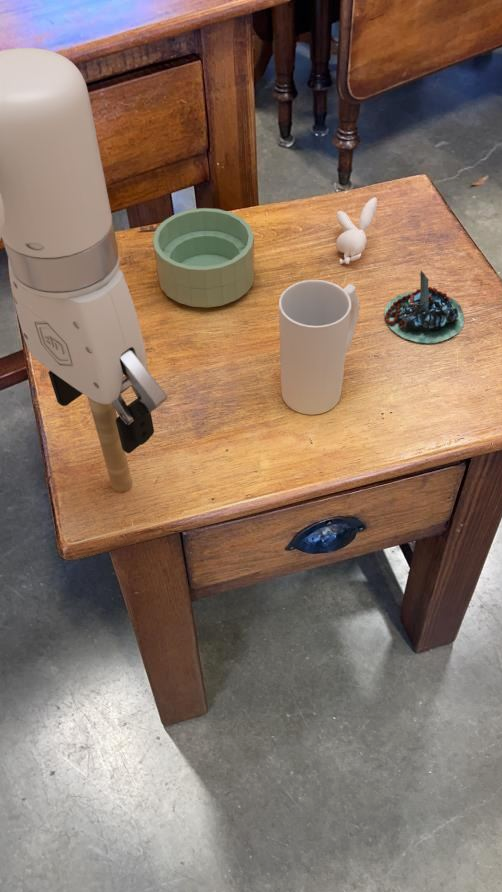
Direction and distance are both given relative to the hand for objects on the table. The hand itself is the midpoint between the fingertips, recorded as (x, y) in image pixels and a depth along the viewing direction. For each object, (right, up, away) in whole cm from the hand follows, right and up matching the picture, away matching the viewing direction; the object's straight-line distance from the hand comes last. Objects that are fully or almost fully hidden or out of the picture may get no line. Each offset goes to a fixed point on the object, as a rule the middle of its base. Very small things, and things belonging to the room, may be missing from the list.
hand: (105, 418), depth 72 cm
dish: (+31, +14, +22) cm, 41 cm away
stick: (0, -6, +7) cm, 9 cm away
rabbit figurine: (+24, +24, +30) cm, 45 cm away
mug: (+19, +5, +16) cm, 25 cm away
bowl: (+6, +19, +25) cm, 32 cm away
